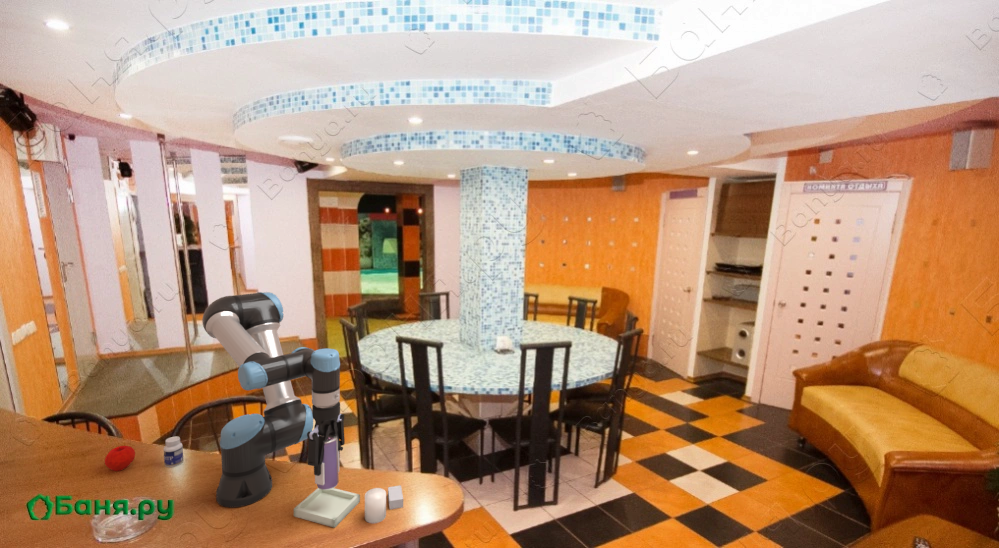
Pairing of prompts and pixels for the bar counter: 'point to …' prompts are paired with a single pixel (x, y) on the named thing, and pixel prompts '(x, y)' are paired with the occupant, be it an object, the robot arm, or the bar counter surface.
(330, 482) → the beverage can
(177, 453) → the pill bottle
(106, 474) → the bar counter surface
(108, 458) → the apple
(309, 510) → the tray
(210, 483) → the bar counter surface
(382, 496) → the white rounded capsule
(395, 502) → the pale rectangular cuboid
